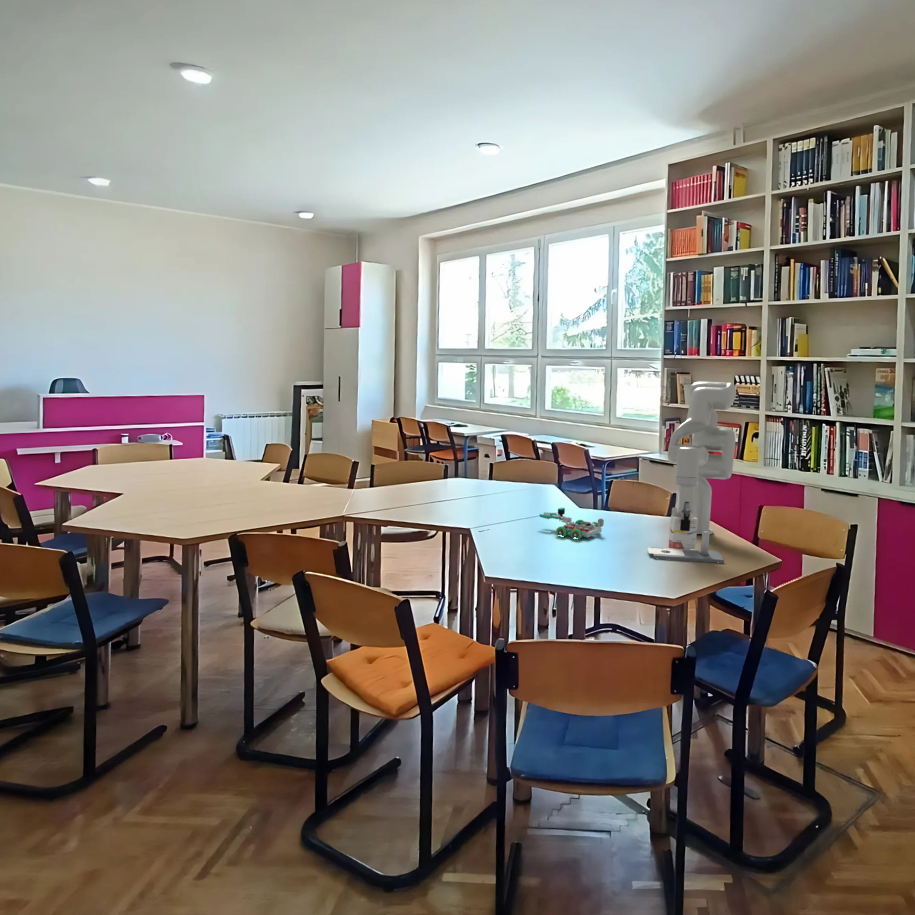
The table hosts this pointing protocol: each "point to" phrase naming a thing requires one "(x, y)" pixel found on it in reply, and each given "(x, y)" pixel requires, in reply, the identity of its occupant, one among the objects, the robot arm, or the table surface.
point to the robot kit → (574, 525)
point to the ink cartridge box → (682, 532)
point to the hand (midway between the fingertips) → (683, 528)
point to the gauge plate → (688, 552)
